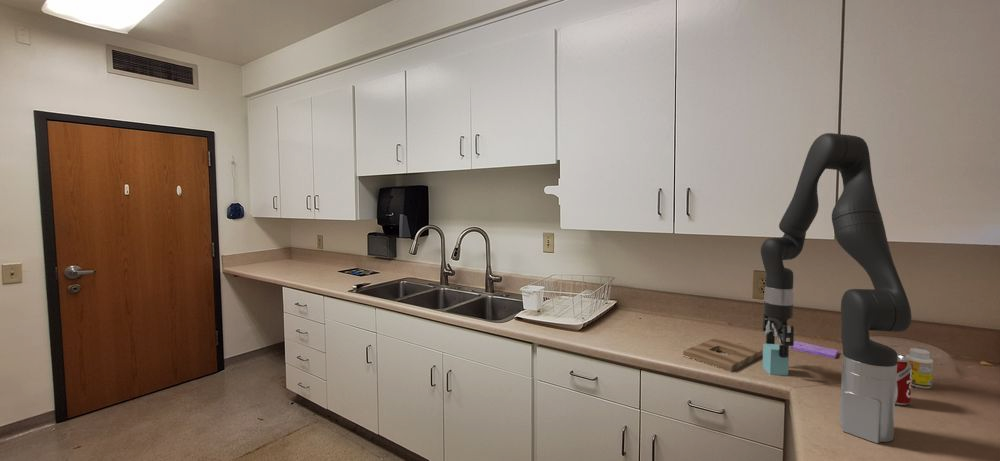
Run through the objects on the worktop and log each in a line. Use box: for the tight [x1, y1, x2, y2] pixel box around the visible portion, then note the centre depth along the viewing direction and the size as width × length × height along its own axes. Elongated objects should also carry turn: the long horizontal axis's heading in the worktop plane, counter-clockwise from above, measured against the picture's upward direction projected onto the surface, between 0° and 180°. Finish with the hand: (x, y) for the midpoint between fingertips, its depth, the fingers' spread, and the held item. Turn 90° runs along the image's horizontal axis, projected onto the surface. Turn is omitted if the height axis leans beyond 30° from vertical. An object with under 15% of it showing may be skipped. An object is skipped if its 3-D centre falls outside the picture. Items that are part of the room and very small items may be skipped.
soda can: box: [895, 354, 912, 406], centre depth 106 cm, size 7×7×12 cm
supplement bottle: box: [905, 347, 934, 389], centre depth 115 cm, size 6×6×10 cm
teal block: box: [762, 343, 790, 376], centre depth 125 cm, size 5×5×8 cm
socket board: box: [682, 337, 763, 373], centre depth 138 cm, size 22×16×2 cm
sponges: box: [790, 340, 839, 359], centre depth 142 cm, size 7×13×2 cm, turn 42°
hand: (776, 351), depth 125 cm, fingers open, 8 cm apart
